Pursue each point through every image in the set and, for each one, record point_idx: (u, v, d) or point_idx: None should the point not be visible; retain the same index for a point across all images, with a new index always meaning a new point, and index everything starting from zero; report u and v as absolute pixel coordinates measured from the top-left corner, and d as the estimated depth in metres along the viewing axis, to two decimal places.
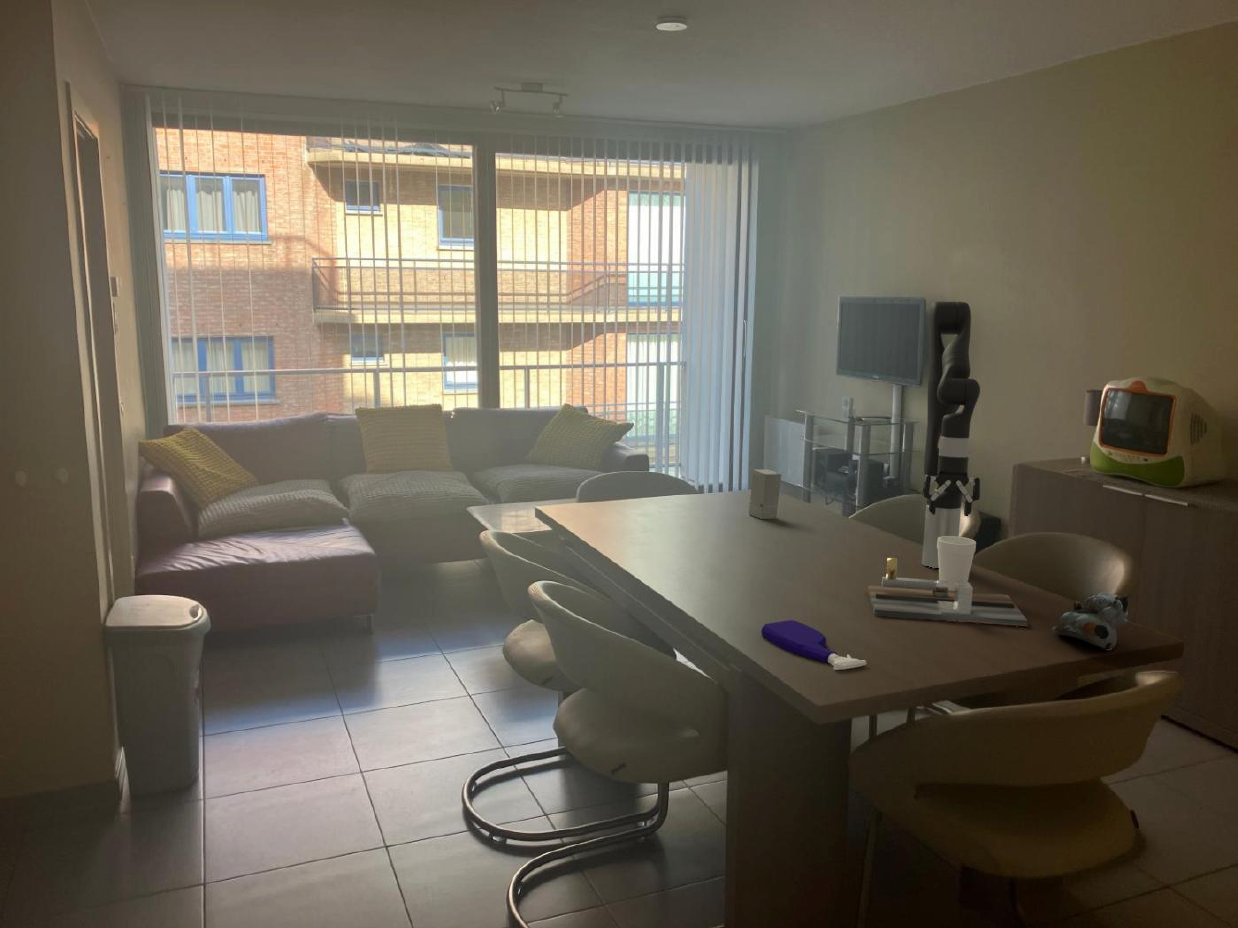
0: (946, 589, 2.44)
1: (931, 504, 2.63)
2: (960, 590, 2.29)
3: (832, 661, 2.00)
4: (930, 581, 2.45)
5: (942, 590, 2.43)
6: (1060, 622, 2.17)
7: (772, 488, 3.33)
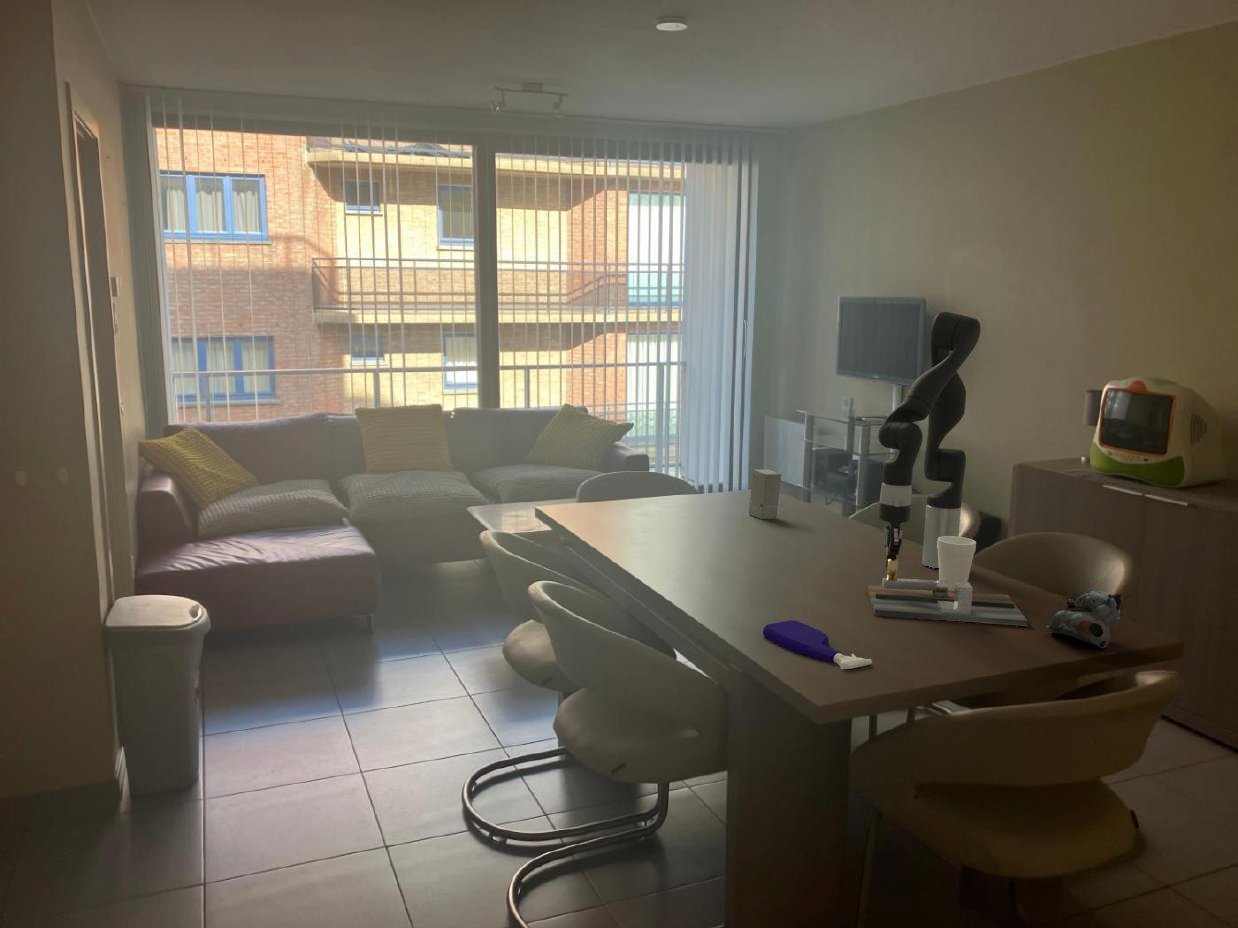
0: (946, 589, 2.44)
1: None
2: (960, 590, 2.29)
3: (838, 661, 2.00)
4: (930, 581, 2.45)
5: (943, 590, 2.43)
6: (1054, 621, 2.18)
7: (772, 488, 3.33)
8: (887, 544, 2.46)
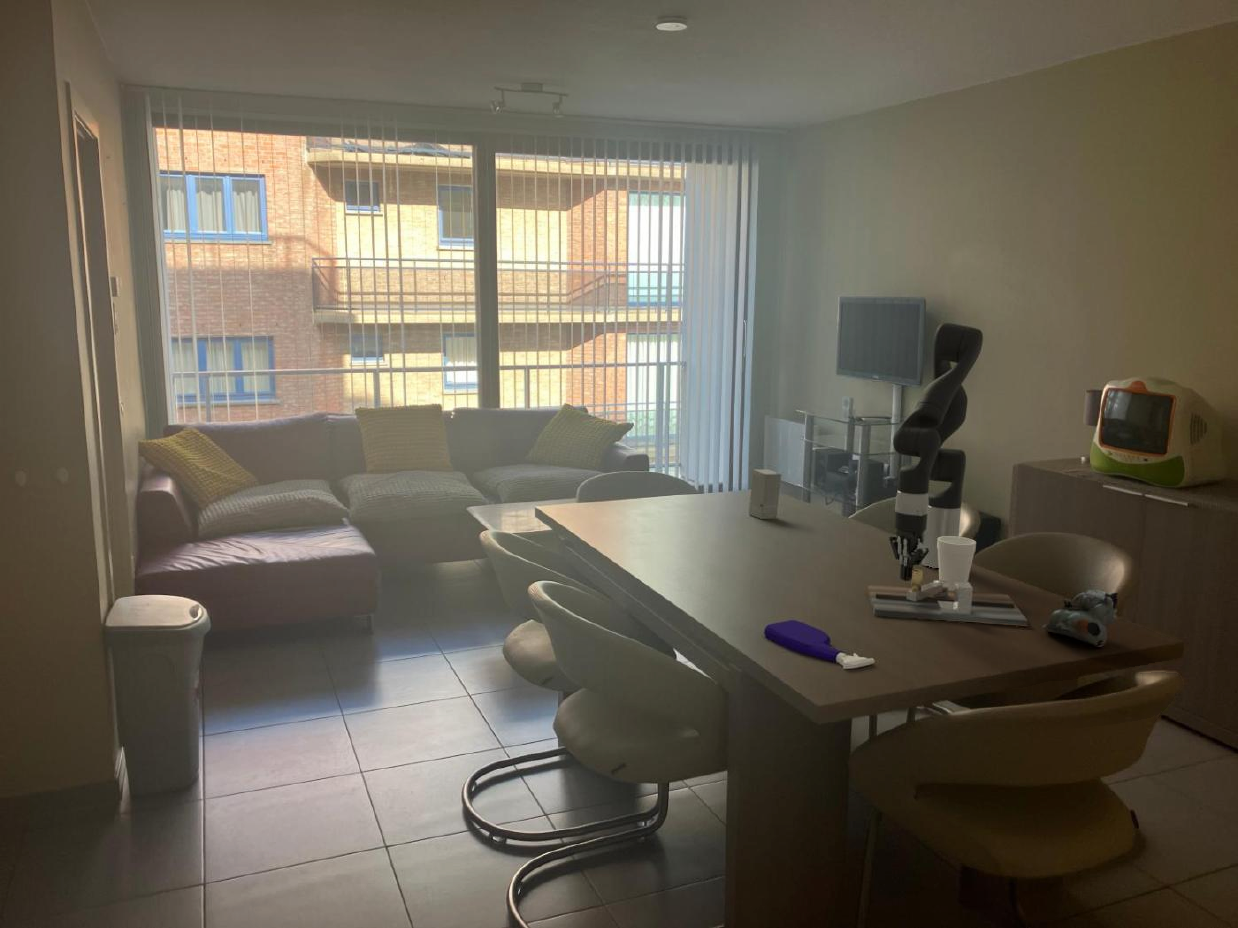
0: None
1: None
2: (960, 590, 2.29)
3: (841, 660, 2.00)
4: (937, 584, 2.43)
5: (947, 589, 2.44)
6: (1051, 620, 2.18)
7: (772, 488, 3.33)
8: (907, 555, 2.36)
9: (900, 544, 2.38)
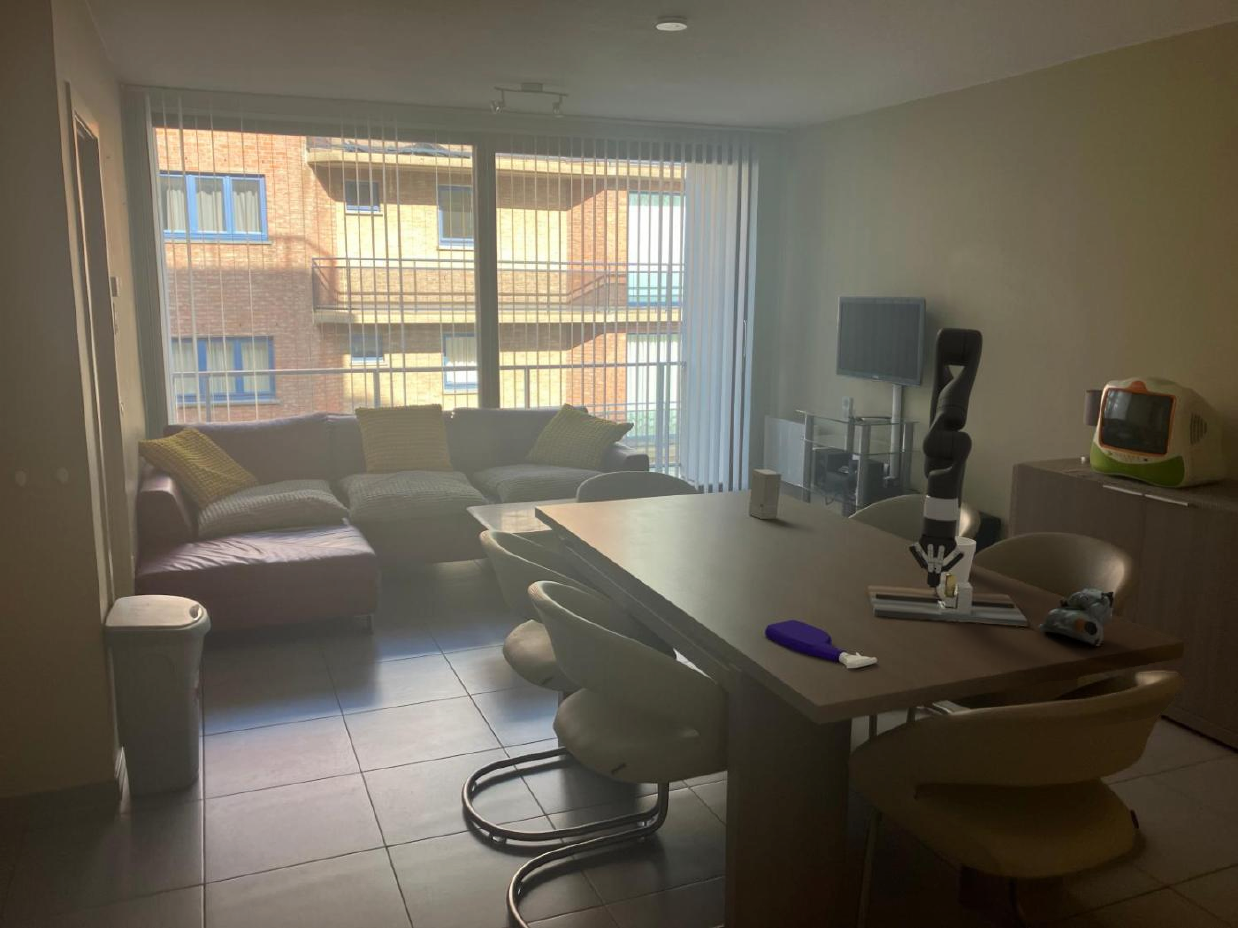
0: None
1: None
2: (960, 590, 2.29)
3: (844, 660, 2.00)
4: (944, 584, 2.42)
5: None
6: (1048, 619, 2.19)
7: (772, 488, 3.33)
8: (942, 562, 2.31)
9: (931, 552, 2.31)
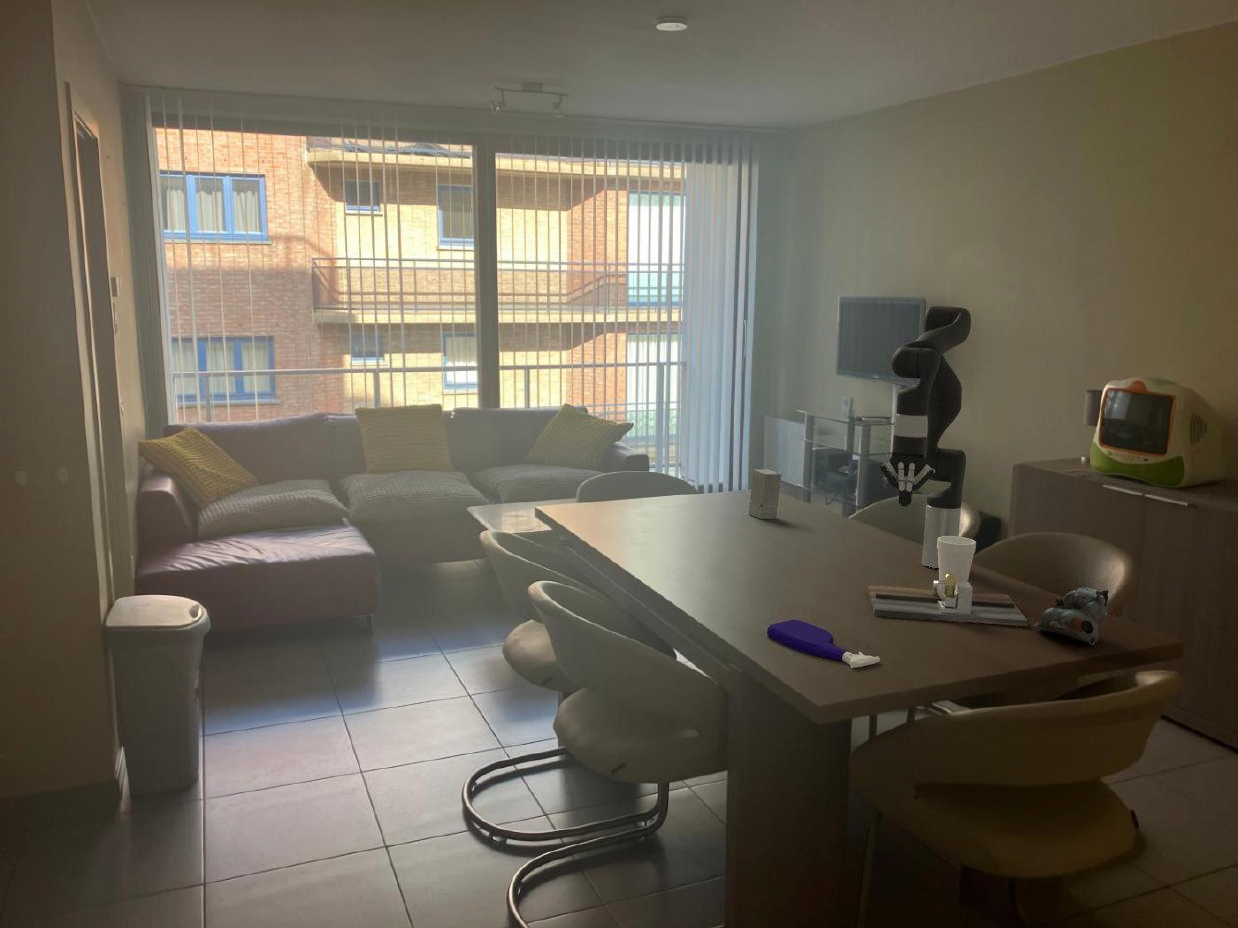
0: None
1: None
2: (960, 590, 2.29)
3: (847, 659, 2.01)
4: (944, 584, 2.42)
5: None
6: (1044, 618, 2.19)
7: (772, 488, 3.33)
8: (912, 480, 2.32)
9: (902, 470, 2.33)
